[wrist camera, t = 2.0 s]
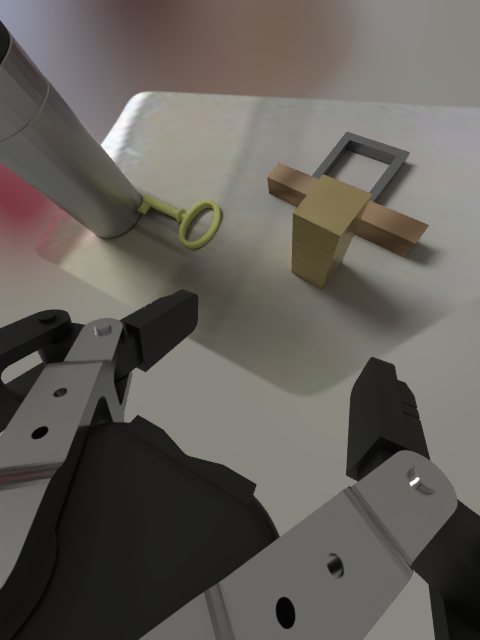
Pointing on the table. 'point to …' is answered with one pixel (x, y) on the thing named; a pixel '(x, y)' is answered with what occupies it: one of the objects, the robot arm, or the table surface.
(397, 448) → the robot arm
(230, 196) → the table surface
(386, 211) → the brown square bar
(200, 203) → the key
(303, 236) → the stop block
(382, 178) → the keeper
